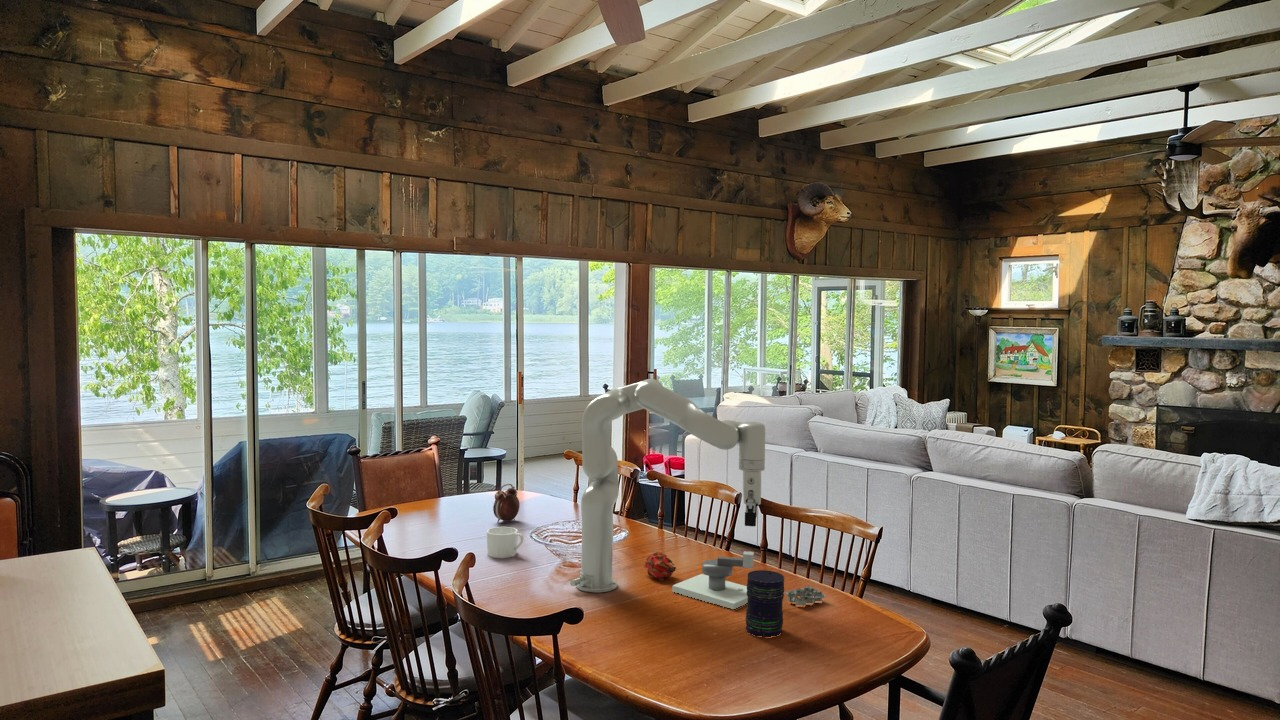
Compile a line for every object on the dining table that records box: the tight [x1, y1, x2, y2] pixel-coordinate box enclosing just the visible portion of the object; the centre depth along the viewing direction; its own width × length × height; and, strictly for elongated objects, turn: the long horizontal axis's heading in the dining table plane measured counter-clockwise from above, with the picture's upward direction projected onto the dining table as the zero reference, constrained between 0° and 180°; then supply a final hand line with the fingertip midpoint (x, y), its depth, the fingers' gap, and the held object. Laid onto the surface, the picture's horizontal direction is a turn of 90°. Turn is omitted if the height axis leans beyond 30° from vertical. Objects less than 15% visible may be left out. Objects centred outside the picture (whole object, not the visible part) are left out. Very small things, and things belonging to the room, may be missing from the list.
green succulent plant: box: [784, 585, 826, 606], centre depth 238 cm, size 11×8×4 cm
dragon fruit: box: [643, 551, 677, 581], centre depth 256 cm, size 8×8×12 cm
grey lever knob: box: [701, 550, 755, 577], centre depth 241 cm, size 15×9×6 cm, turn 80°
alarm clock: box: [492, 483, 520, 524], centre depth 318 cm, size 11×5×15 cm, turn 144°
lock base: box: [671, 573, 748, 610], centre depth 242 cm, size 15×22×6 cm
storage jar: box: [745, 569, 785, 637], centre depth 215 cm, size 10×10×15 cm
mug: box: [486, 526, 525, 559], centre depth 276 cm, size 13×10×8 cm
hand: (750, 521), depth 239 cm, fingers open, 9 cm apart
